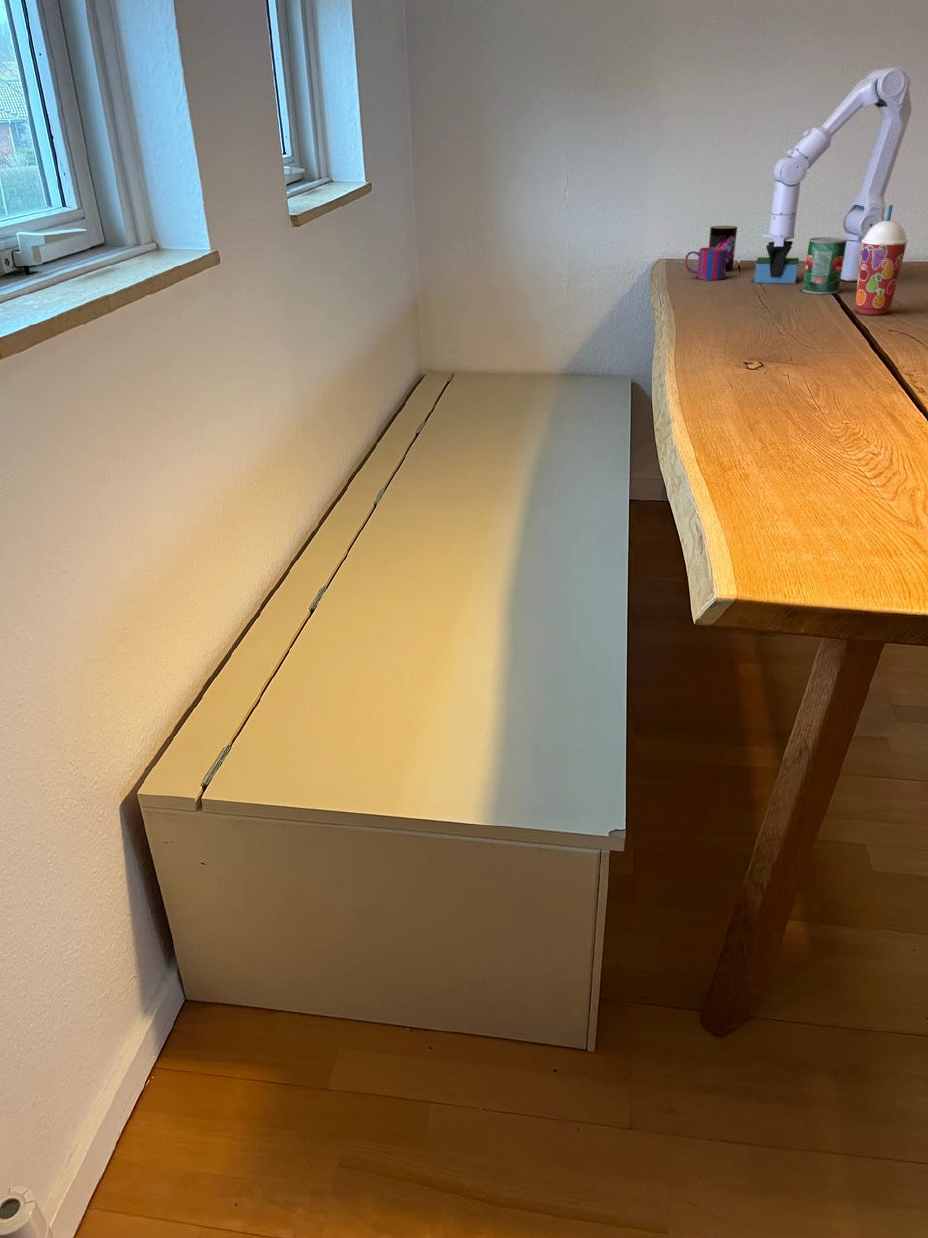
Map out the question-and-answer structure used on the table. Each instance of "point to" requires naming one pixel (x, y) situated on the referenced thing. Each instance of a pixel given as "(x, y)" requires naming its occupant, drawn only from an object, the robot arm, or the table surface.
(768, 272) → the sponge
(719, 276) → the mug
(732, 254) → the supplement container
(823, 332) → the table surface
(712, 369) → the table surface
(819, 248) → the canned tomato
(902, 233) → the smoothie
